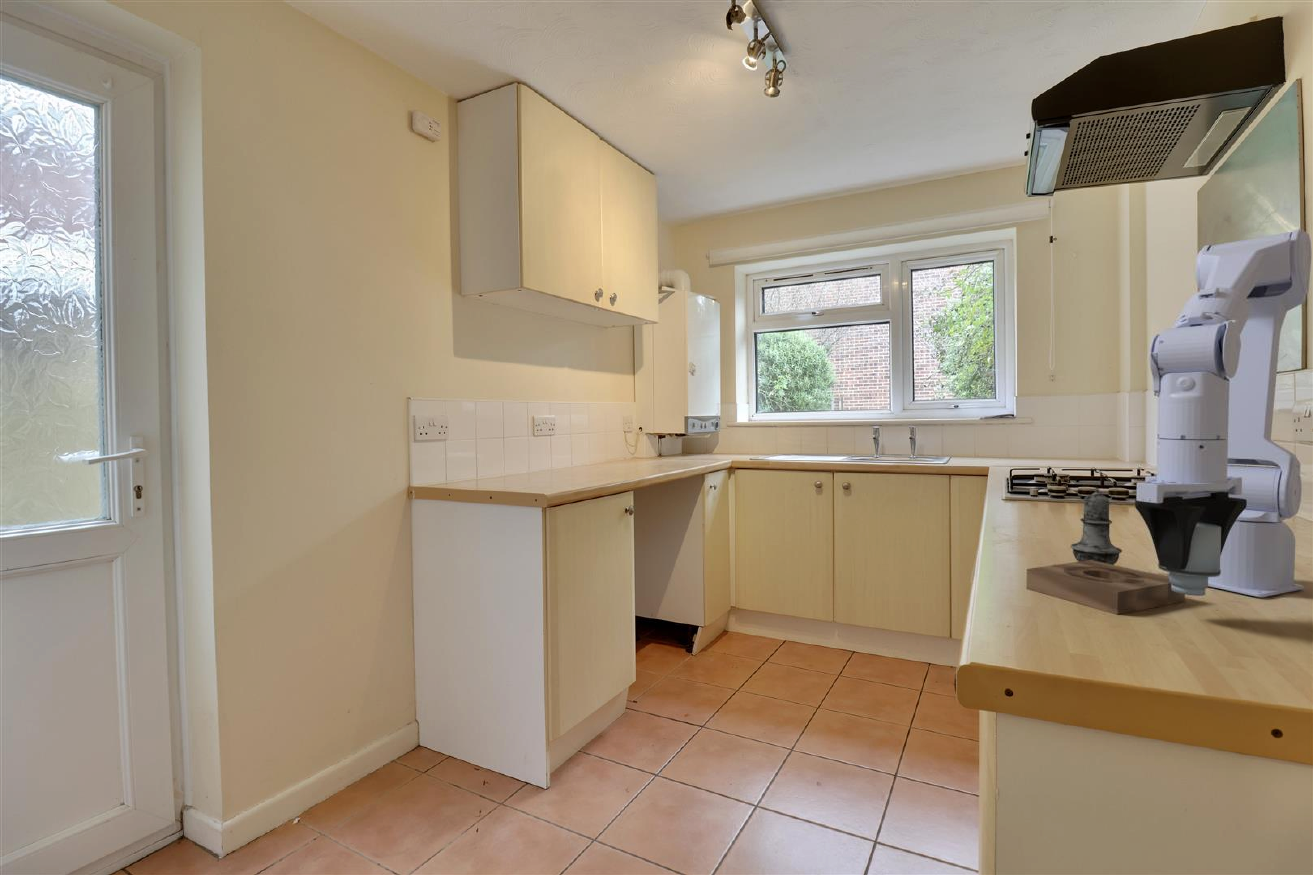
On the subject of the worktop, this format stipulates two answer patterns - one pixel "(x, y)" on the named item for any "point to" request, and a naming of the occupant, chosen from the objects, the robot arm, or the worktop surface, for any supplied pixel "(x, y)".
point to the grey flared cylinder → (1096, 532)
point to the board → (1103, 586)
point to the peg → (1198, 562)
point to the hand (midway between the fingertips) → (1188, 564)
